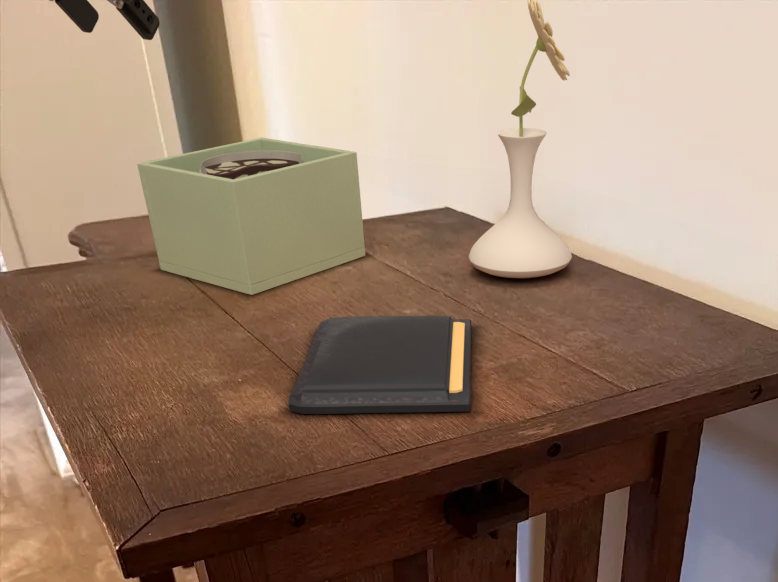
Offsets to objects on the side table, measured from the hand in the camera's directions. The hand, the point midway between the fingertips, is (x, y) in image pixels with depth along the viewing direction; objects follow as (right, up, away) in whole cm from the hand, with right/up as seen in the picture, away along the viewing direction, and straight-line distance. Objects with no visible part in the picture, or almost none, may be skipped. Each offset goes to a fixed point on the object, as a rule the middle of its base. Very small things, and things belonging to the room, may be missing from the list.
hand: (122, 28), depth 85 cm
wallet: (+25, -33, -4) cm, 41 cm away
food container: (+7, -12, +21) cm, 25 cm away
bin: (+8, -13, +21) cm, 26 cm away
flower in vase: (+38, -15, +18) cm, 45 cm away
